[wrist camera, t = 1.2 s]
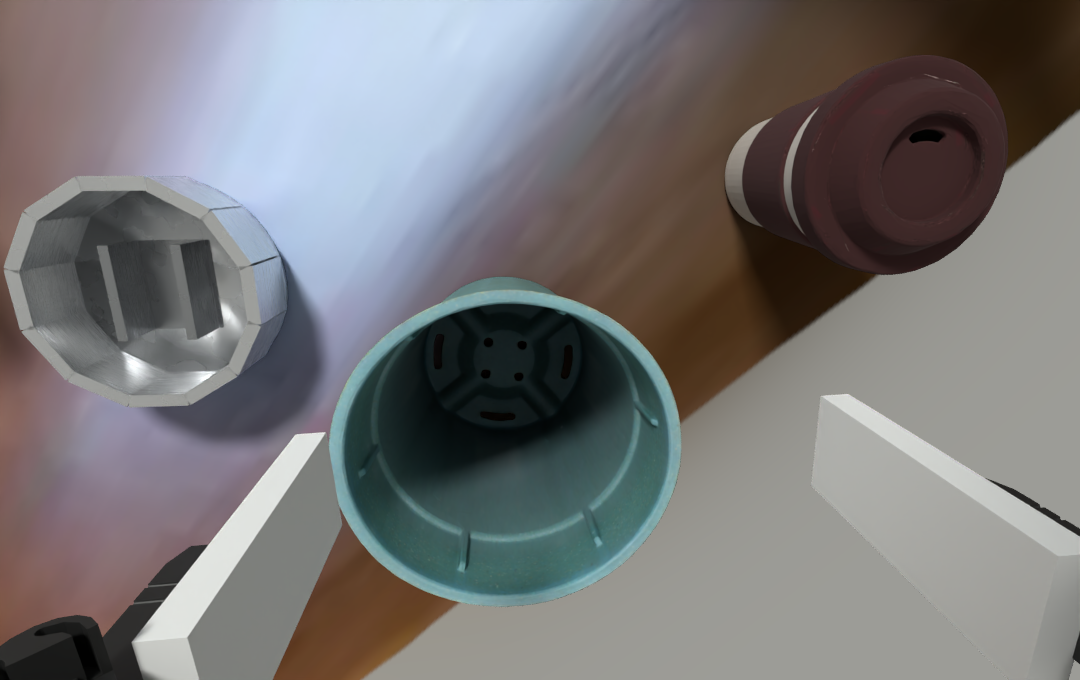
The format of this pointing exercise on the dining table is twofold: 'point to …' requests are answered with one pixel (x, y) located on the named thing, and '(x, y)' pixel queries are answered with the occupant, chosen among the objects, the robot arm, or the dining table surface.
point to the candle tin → (146, 287)
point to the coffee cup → (877, 166)
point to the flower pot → (505, 447)
